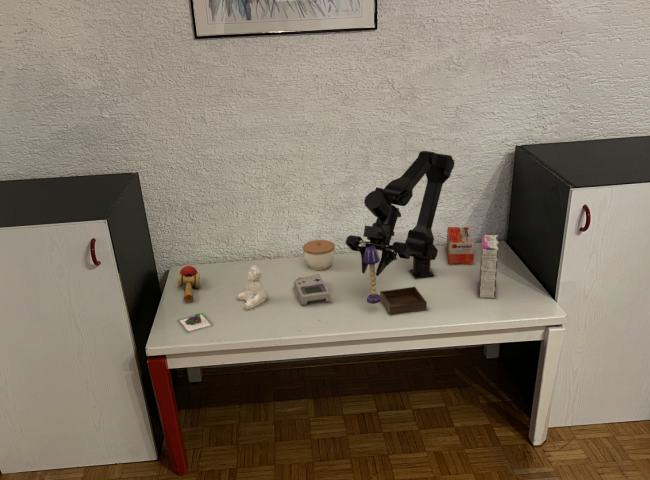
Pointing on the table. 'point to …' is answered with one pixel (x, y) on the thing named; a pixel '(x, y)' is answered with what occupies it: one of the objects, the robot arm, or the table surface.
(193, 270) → the kendama
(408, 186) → the robot arm
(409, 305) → the tray
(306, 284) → the handheld gaming device
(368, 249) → the toy lamp
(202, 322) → the puzzle cube
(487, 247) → the candy bar box
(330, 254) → the trinket box
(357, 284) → the table surface
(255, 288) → the white creature statuette
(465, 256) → the medicine box
